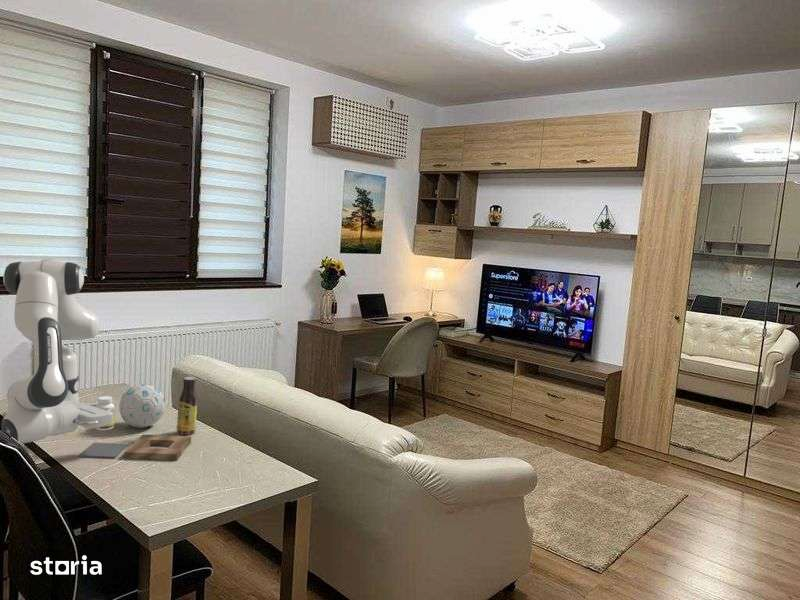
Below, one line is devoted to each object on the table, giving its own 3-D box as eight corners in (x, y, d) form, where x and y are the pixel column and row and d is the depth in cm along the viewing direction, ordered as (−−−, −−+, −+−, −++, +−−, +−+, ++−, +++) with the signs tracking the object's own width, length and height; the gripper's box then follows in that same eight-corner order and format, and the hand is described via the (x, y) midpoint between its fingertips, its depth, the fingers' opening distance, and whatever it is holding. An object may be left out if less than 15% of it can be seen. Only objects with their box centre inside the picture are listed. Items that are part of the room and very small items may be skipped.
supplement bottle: (117, 427, 194) (118, 397, 193) (105, 432, 188) (105, 401, 187) (103, 424, 195) (104, 394, 194) (90, 429, 190) (91, 398, 189)
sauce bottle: (172, 433, 213) (174, 377, 211) (186, 428, 218) (188, 374, 216) (186, 437, 210) (188, 381, 208) (200, 432, 215) (202, 377, 213)
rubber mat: (78, 457, 187) (78, 455, 187) (93, 444, 198) (93, 442, 198) (115, 458, 188) (115, 456, 188) (128, 445, 199) (128, 444, 199)
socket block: (124, 458, 189) (124, 452, 188) (142, 440, 204) (142, 434, 204) (177, 460, 190) (177, 454, 190) (191, 442, 206) (191, 436, 205)
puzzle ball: (160, 417, 228) (161, 378, 227) (168, 430, 216) (169, 389, 214) (116, 422, 220) (116, 381, 219) (121, 435, 208) (122, 392, 206)
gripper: (86, 415, 175) (129, 405, 187) (44, 401, 185) (87, 392, 197) (86, 436, 175) (128, 425, 187) (44, 421, 185) (87, 411, 197)
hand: (107, 408), depth 192 cm, fingers closed on supplement bottle, 5 cm apart
